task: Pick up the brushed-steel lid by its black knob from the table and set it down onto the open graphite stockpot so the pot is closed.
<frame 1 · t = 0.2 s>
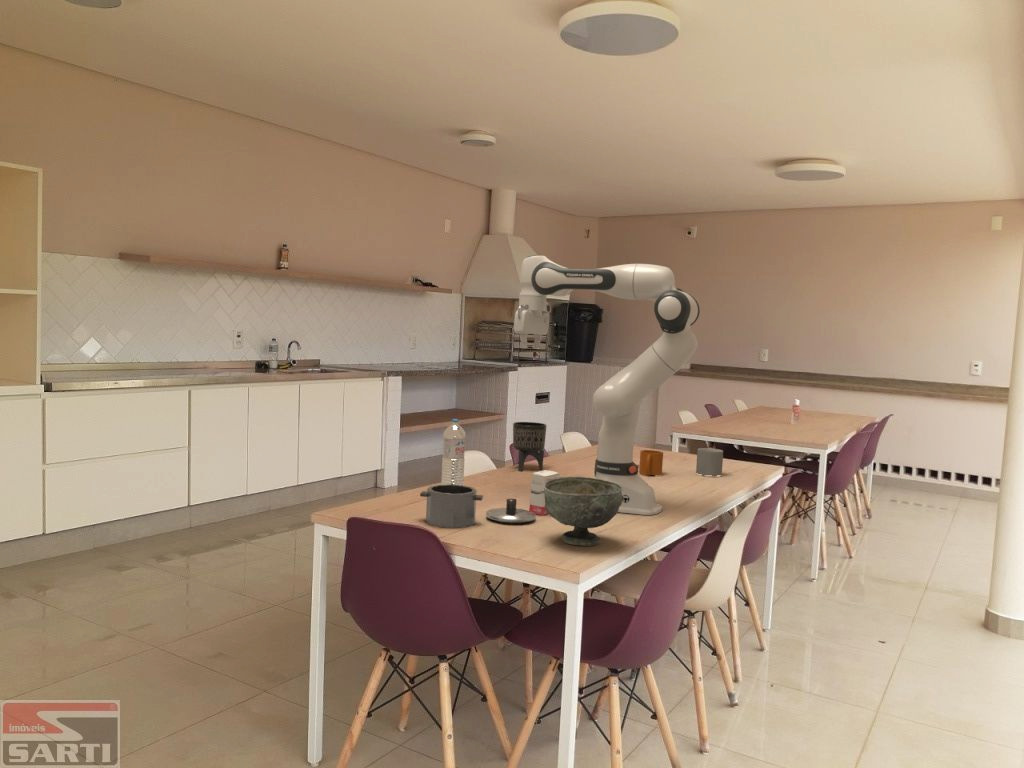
hand: (530, 348, 256), 48 cm above the table, fingers open, 8 cm apart
lid: (510, 519, 222), on the table
mug: (648, 475, 307), on the table
planter: (527, 469, 305), on the table
water bottle: (451, 500, 244), on the table
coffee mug: (709, 474, 315), on the table
pot: (450, 521, 215), on the table
bowl: (580, 542, 201), on the table
ink box: (543, 512, 233), on the table
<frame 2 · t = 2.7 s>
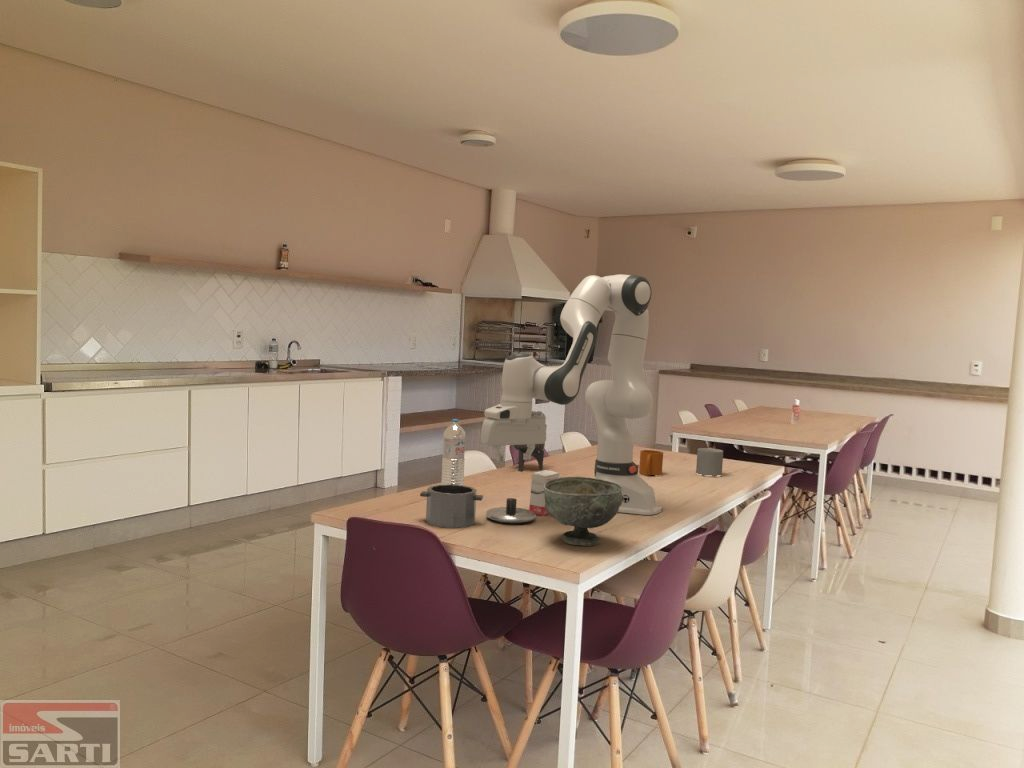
hand: (513, 460, 221), 17 cm above the table, fingers open, 8 cm apart
nothing on the table moved.
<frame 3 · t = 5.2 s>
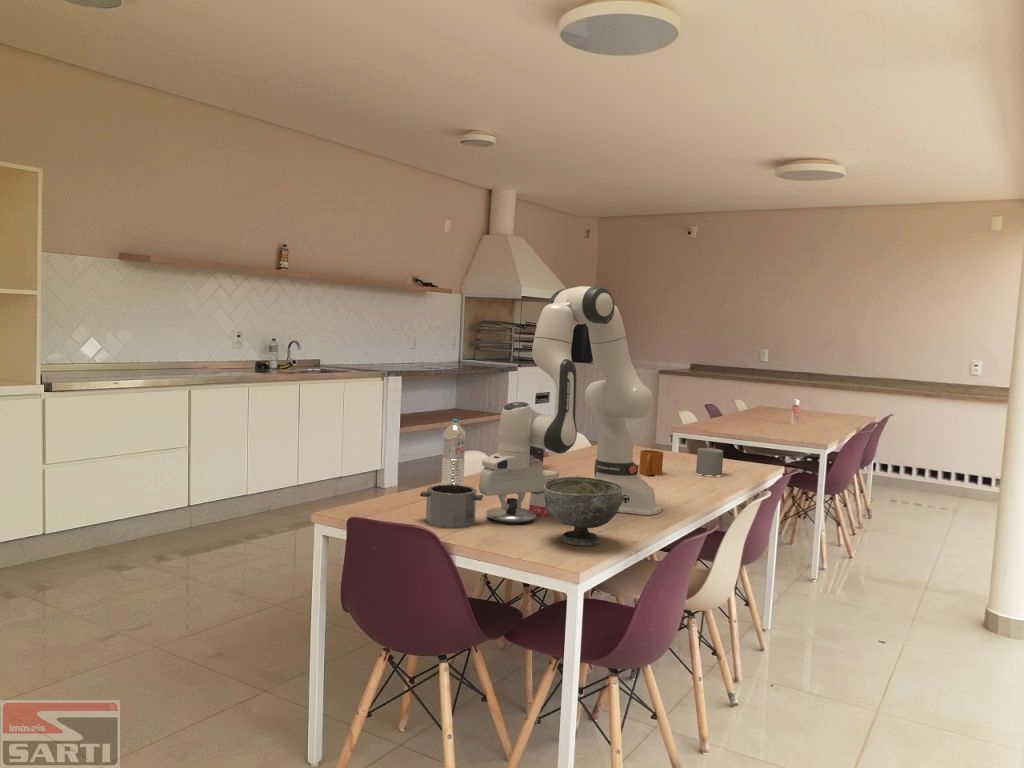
hand: (511, 508, 222), 3 cm above the table, fingers closed on lid, 3 cm apart
lid: (510, 519, 222), on the table, touching gripper
everything else where it was.
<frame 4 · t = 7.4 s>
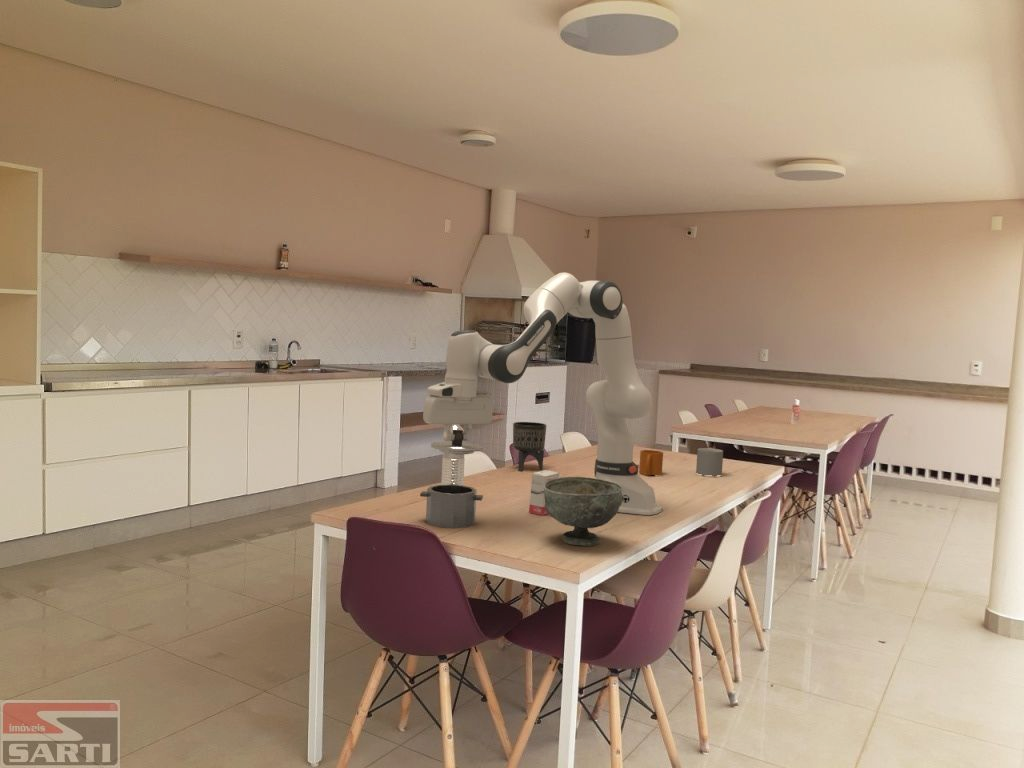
hand: (457, 440, 214), 22 cm above the table, fingers closed on lid, 3 cm apart
lid: (456, 451, 214), point 19 cm above the table, touching gripper
everything else where it was.
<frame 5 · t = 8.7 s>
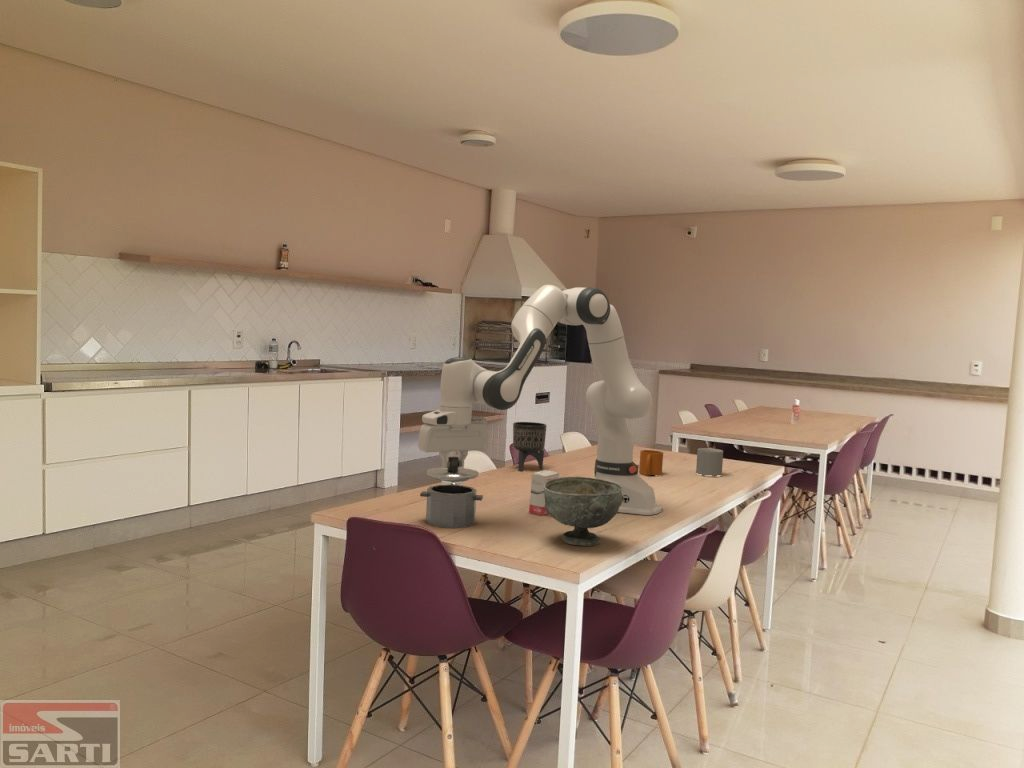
hand: (452, 467, 214), 15 cm above the table, fingers closed on lid, 3 cm apart
lid: (452, 478, 214), point 12 cm above the table, touching gripper
everything else where it was.
when the fingers open (12 cm above the table, at t = 9.9 s): lid stays where it is, resting on pot.
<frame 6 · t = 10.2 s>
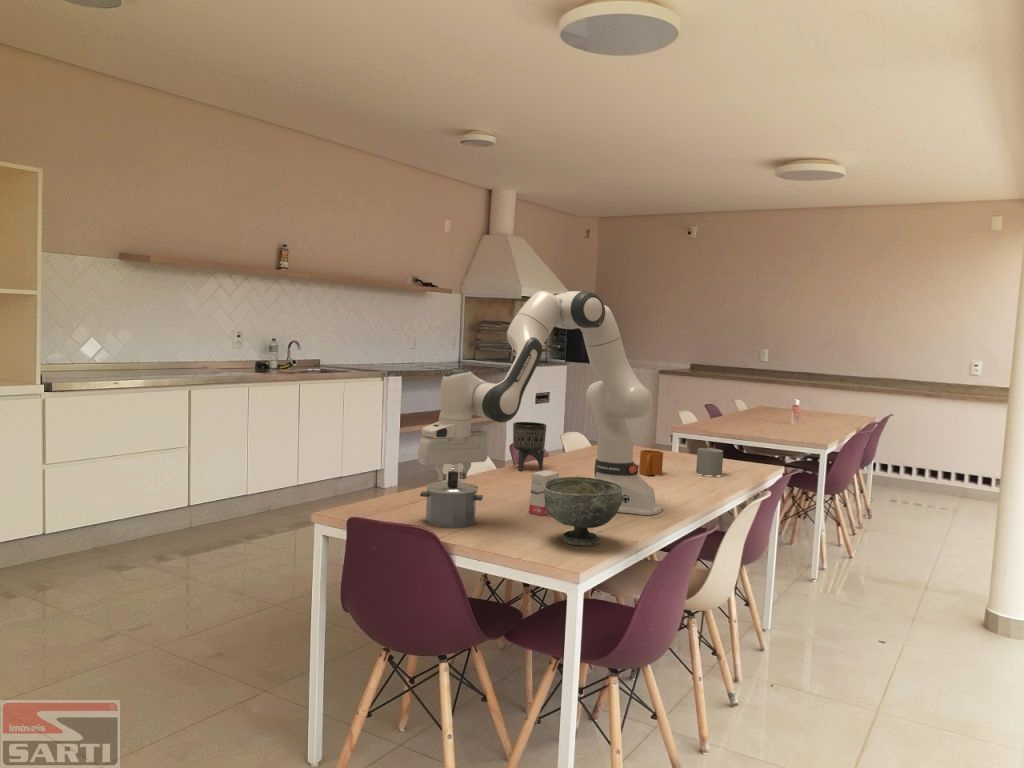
hand: (452, 479, 215), 12 cm above the table, fingers open, 5 cm apart
lid: (452, 493, 215), point 8 cm above the table, touching pot
everything else where it was.
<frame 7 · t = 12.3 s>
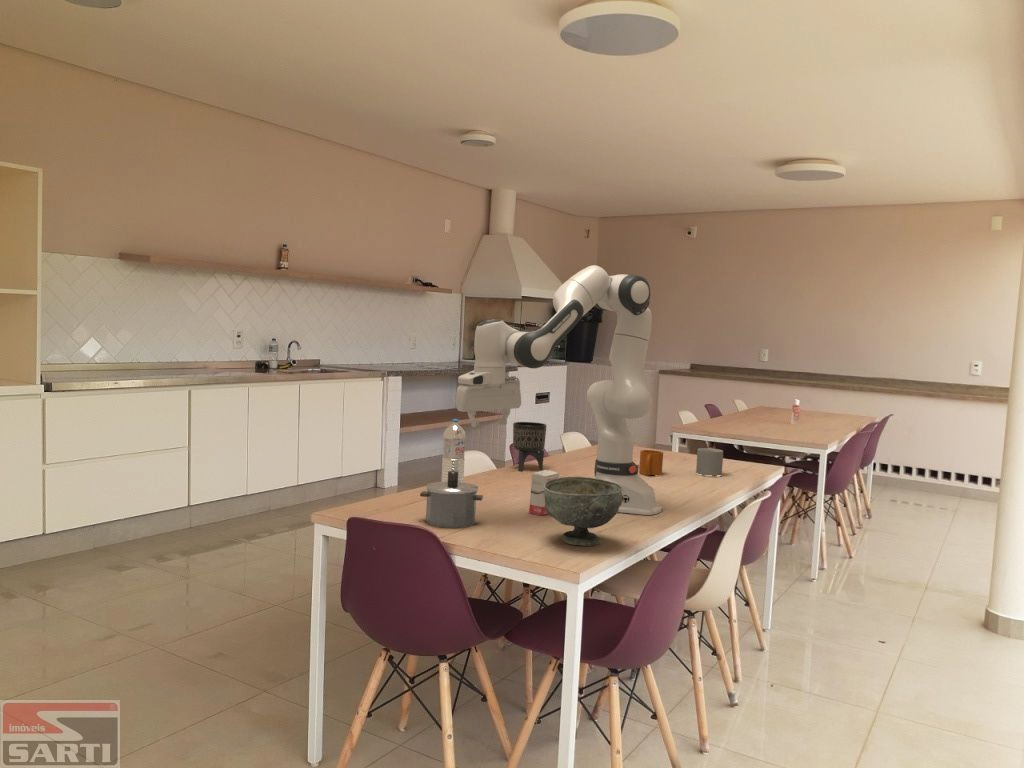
hand: (489, 425, 223), 26 cm above the table, fingers open, 8 cm apart
nothing on the table moved.
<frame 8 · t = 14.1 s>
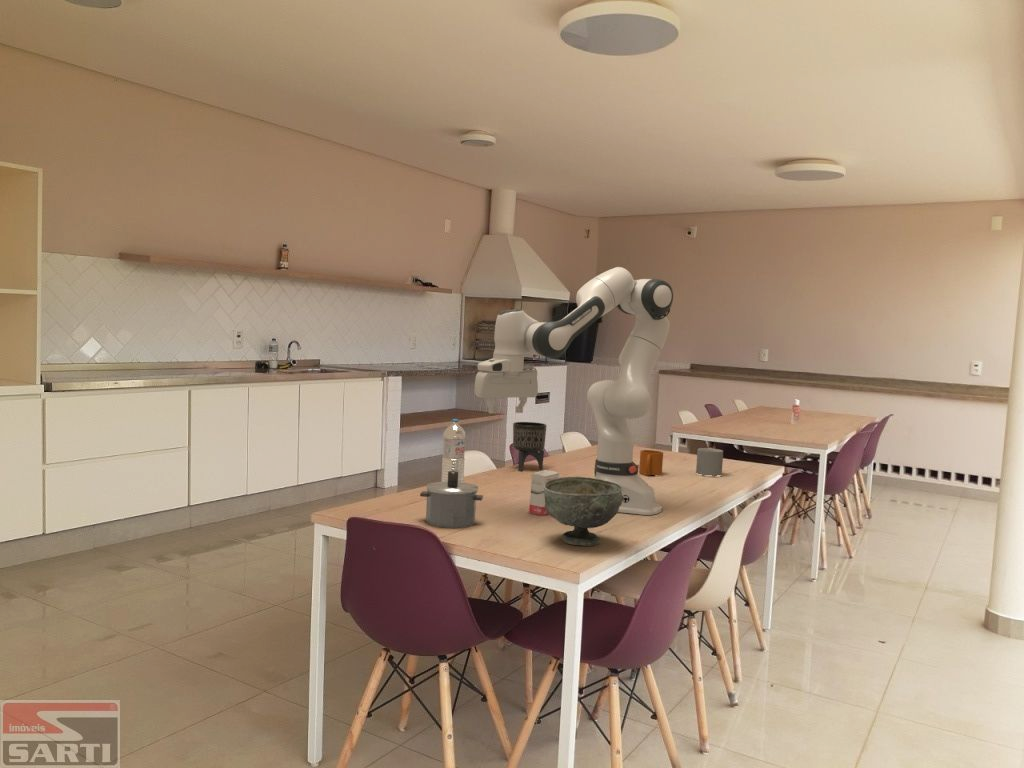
hand: (505, 413, 228), 29 cm above the table, fingers open, 8 cm apart
nothing on the table moved.
at the end: lid 0.1 cm off-centre on the pot, point 8.0 cm above the pot's base; lid tilted 0°; the gripper is holding nothing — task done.
